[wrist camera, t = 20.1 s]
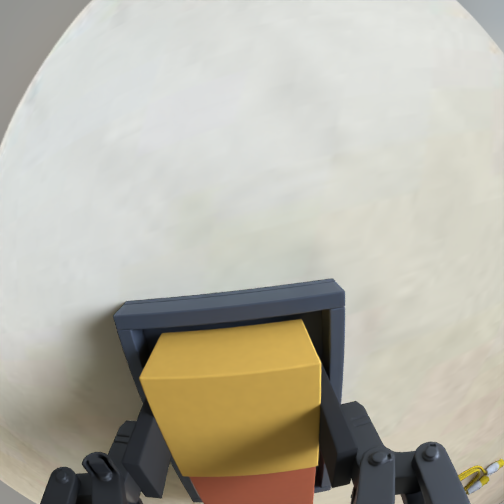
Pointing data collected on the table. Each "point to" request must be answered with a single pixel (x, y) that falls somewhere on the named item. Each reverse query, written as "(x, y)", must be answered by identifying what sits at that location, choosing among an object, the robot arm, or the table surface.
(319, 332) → the tray
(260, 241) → the table surface
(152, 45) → the table surface
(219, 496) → the pad terracotta
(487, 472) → the coiled yellow cable
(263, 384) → the pad mustard
